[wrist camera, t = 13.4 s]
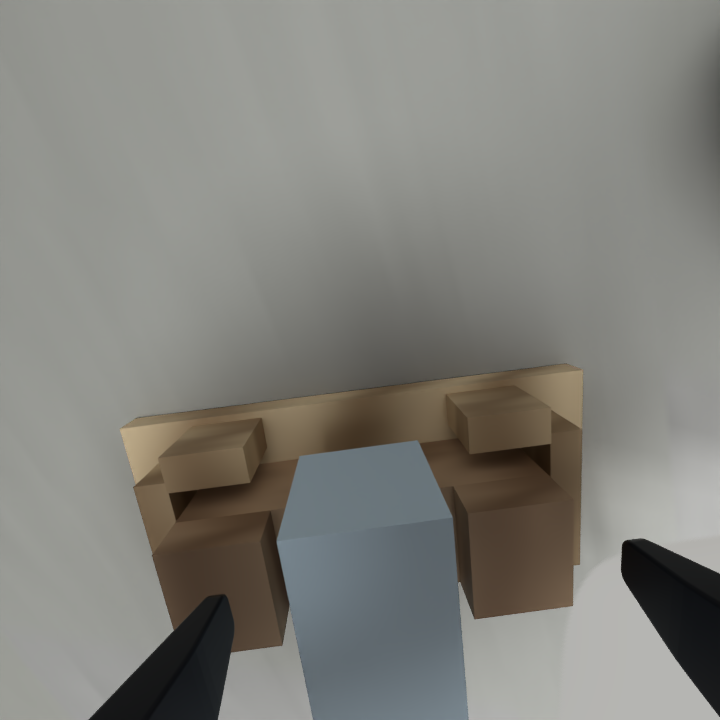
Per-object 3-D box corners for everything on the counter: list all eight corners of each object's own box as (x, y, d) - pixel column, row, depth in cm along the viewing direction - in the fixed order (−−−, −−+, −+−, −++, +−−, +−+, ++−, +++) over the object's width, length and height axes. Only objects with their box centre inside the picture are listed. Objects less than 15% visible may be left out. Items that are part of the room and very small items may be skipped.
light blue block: (417, 440, 12) (452, 517, 8) (435, 620, 14) (471, 758, 10) (299, 455, 12) (276, 541, 8) (331, 635, 13) (325, 778, 10)
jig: (566, 363, 16) (634, 388, 13) (565, 531, 18) (624, 598, 14) (136, 418, 16) (69, 461, 12) (181, 581, 18) (136, 663, 14)
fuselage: (503, 432, 16) (574, 499, 11) (506, 510, 17) (572, 605, 12) (212, 470, 16) (151, 555, 11) (231, 547, 17) (182, 659, 12)
